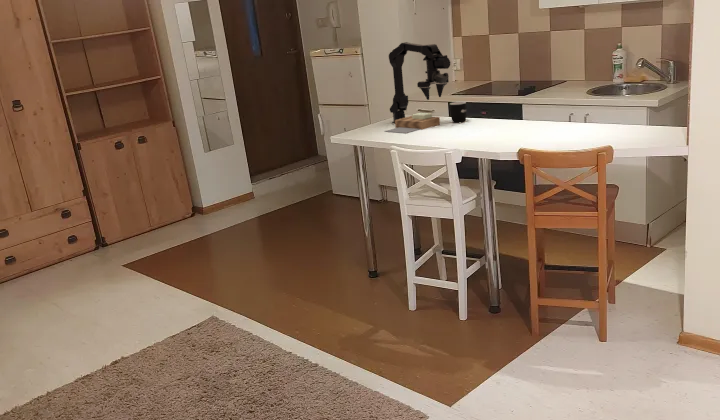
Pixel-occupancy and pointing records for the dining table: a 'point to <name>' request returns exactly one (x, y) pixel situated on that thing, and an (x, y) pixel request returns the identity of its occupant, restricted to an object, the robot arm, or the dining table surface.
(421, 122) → the brown wooden flat block
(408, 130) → the mat
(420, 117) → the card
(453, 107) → the mug
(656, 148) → the dining table surface
